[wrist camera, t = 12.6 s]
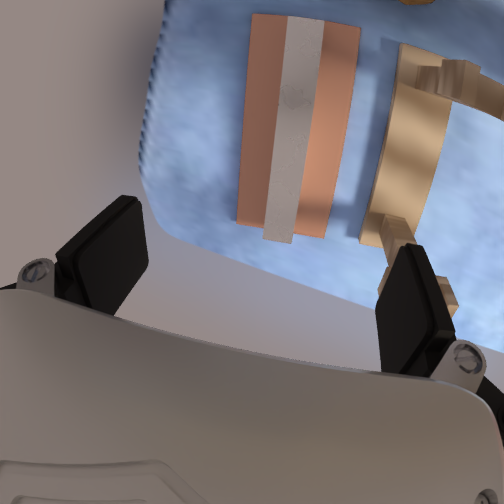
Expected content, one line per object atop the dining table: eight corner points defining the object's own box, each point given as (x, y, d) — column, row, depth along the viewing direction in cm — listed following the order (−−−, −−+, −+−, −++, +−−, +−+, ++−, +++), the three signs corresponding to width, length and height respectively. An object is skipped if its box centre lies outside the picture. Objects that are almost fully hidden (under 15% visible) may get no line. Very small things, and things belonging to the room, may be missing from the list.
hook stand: (399, 43, 21) (467, 30, 9) (453, 62, 21) (542, 74, 9) (358, 238, 34) (373, 335, 22) (404, 247, 33) (436, 342, 21)
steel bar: (290, 21, 22) (288, 15, 19) (323, 25, 21) (324, 20, 19) (266, 224, 34) (262, 238, 32) (293, 229, 34) (291, 243, 32)
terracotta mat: (253, 14, 22) (252, 13, 22) (359, 28, 21) (360, 27, 21) (237, 221, 36) (236, 223, 35) (323, 235, 35) (323, 238, 34)
